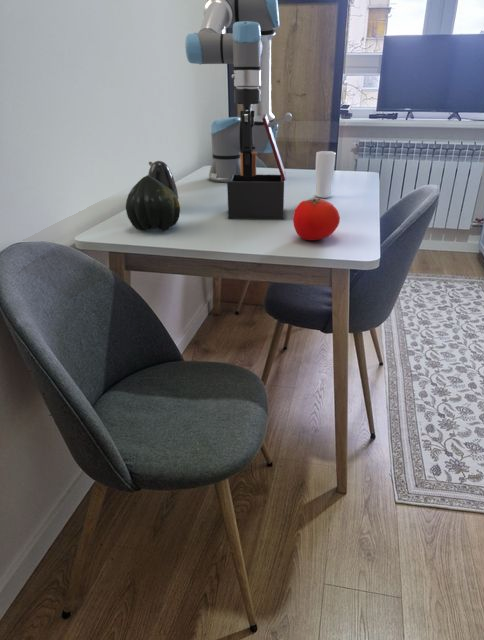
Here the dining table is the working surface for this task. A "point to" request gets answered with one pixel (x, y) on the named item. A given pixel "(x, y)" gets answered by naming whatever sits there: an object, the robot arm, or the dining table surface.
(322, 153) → the drinking glass
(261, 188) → the black storage bin
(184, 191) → the dining table surface
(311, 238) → the tomato
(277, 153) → the lid
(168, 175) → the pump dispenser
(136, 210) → the squash
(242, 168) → the orange tapered cylinder
